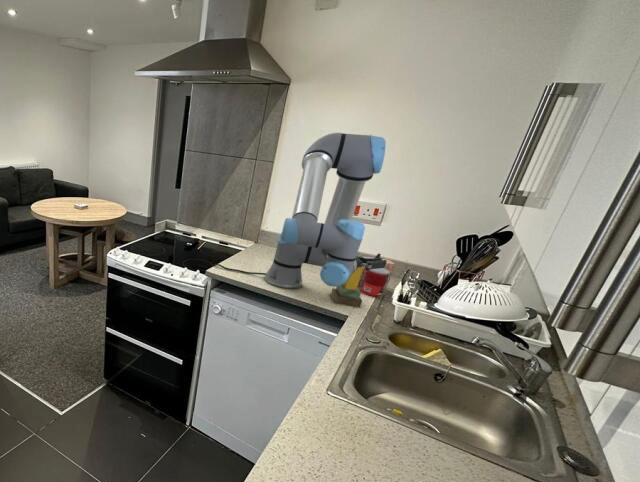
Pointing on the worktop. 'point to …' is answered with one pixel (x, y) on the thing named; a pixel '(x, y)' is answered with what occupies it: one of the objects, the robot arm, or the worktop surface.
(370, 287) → the canned food
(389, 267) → the stack of blocks
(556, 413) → the worktop surface
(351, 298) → the green brown stepped block
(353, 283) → the bar
